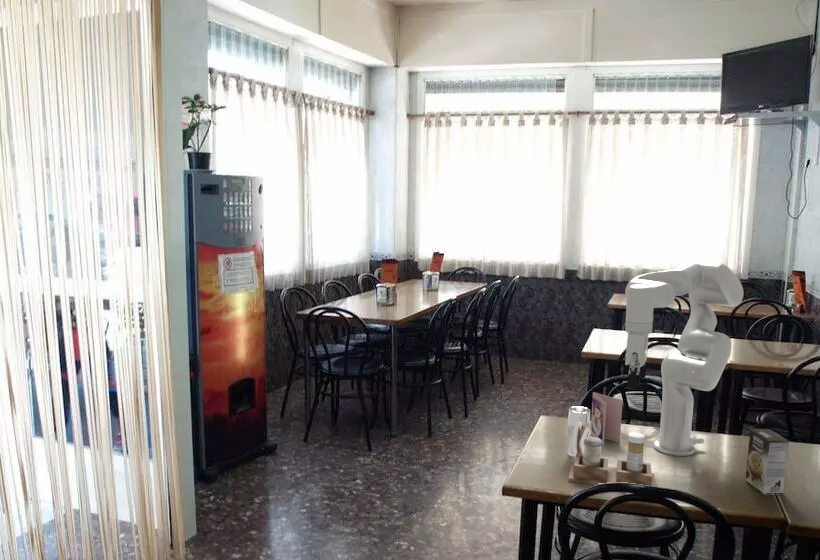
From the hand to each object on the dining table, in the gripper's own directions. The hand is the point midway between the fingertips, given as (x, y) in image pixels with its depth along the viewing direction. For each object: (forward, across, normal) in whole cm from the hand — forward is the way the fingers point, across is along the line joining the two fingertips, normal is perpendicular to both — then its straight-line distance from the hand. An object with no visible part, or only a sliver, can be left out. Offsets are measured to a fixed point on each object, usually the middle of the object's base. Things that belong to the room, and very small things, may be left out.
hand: (636, 382), depth 200 cm
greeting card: (+28, -20, -13) cm, 37 cm away
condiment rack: (+27, +11, -4) cm, 29 cm away
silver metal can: (+28, -2, -18) cm, 33 cm away
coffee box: (+29, -6, +36) cm, 46 cm away
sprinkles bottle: (+26, +10, +2) cm, 28 cm away
